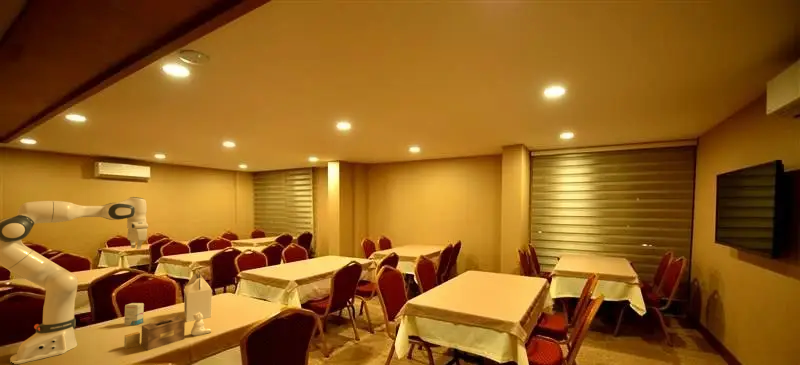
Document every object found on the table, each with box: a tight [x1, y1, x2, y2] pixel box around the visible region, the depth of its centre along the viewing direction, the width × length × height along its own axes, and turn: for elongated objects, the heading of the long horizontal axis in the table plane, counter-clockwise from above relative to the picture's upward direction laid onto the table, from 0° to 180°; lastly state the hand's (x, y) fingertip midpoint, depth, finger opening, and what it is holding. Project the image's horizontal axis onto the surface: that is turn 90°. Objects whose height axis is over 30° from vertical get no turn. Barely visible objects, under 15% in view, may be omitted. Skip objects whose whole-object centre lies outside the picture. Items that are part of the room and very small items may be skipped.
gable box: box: [183, 269, 213, 323], centre depth 214 cm, size 22×13×28 cm, turn 37°
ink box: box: [123, 302, 145, 326], centre depth 199 cm, size 9×5×12 cm, turn 84°
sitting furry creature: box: [190, 312, 212, 337], centre depth 182 cm, size 10×9×12 cm
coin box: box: [140, 315, 186, 351], centre depth 171 cm, size 16×10×10 cm, turn 144°
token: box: [123, 331, 141, 350], centre depth 167 cm, size 6×3×6 cm, turn 144°
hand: (136, 248), depth 191 cm, fingers open, 8 cm apart
